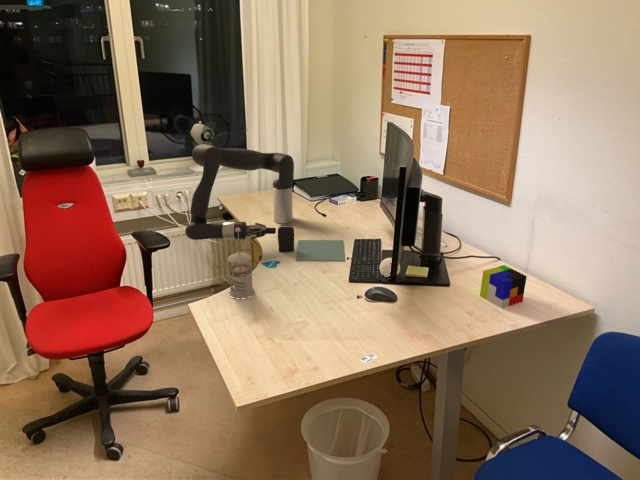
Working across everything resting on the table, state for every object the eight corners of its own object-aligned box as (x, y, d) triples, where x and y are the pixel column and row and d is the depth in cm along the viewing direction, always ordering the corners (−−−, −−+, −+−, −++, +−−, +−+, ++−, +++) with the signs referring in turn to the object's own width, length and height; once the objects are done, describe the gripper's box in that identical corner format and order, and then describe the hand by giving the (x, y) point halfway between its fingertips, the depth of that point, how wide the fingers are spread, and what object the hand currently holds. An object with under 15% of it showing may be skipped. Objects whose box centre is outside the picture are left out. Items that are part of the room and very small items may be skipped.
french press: (243, 302, 176) (239, 235, 167) (218, 293, 182) (212, 228, 172) (261, 290, 184) (258, 226, 174) (236, 283, 190) (232, 219, 180)
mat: (298, 240, 228) (298, 239, 228) (342, 240, 228) (342, 240, 228) (295, 261, 208) (295, 260, 208) (344, 261, 208) (344, 260, 207)
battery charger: (294, 248, 220) (293, 223, 216) (294, 251, 216) (294, 226, 212) (278, 248, 219) (277, 223, 215) (278, 252, 216) (277, 227, 212)
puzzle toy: (501, 308, 172) (505, 282, 168) (479, 296, 180) (483, 270, 177) (522, 302, 177) (526, 276, 173) (500, 290, 185) (504, 265, 181)
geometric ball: (394, 283, 195) (407, 270, 191) (379, 281, 191) (392, 268, 186) (387, 267, 200) (400, 255, 195) (372, 264, 195) (384, 252, 191)
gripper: (231, 227, 207) (273, 227, 207) (236, 216, 219) (276, 216, 219) (232, 244, 210) (274, 245, 210) (237, 233, 222) (277, 233, 222)
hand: (275, 230), depth 215 cm, fingers closed
